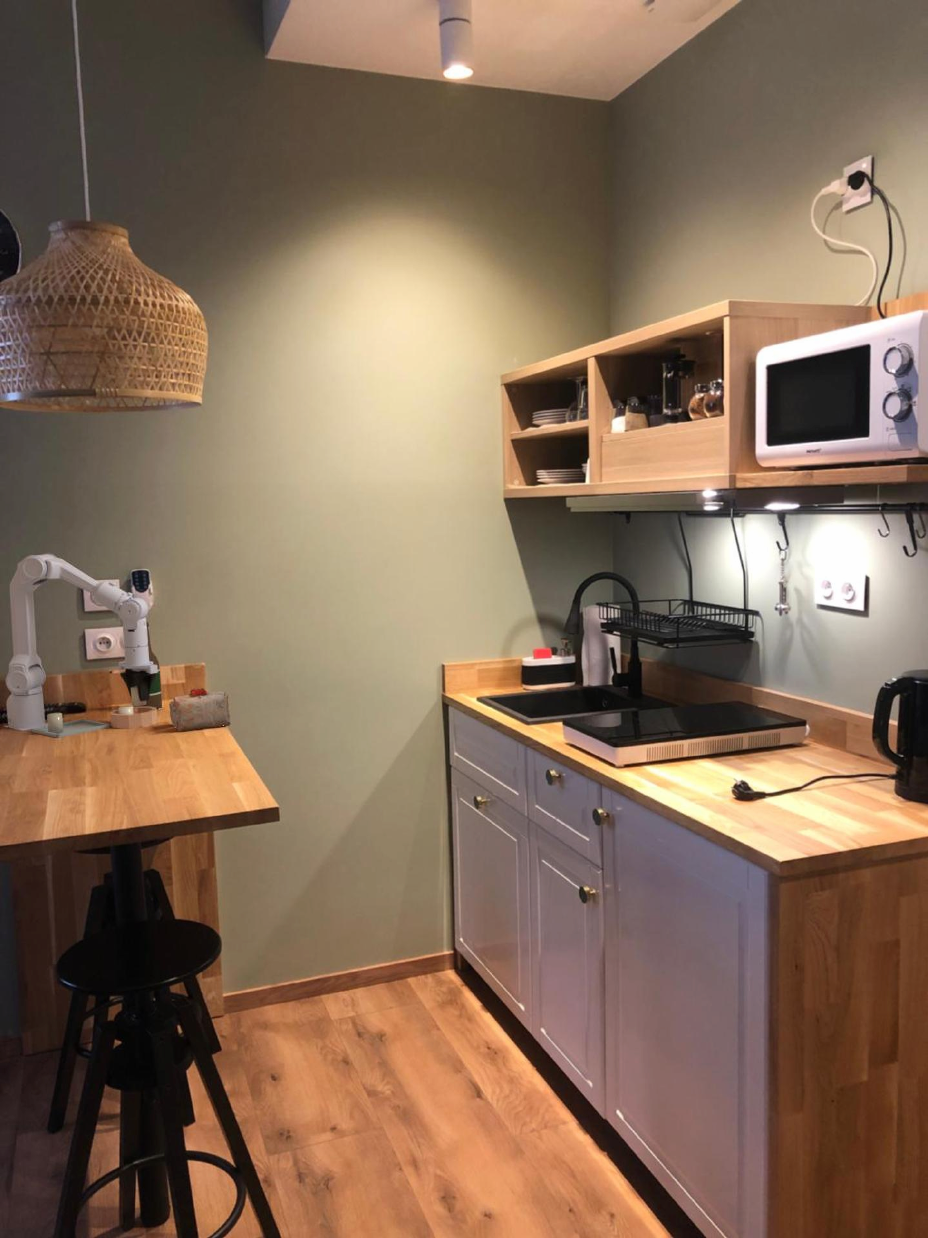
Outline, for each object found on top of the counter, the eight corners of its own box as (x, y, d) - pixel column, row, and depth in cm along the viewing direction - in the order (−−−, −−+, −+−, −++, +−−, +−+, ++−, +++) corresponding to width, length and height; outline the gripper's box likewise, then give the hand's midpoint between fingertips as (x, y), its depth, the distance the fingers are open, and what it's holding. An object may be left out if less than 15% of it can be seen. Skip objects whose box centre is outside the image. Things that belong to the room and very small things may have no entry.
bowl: (102, 727, 259) (101, 712, 259) (141, 719, 267) (140, 705, 267) (127, 732, 252) (125, 716, 251) (166, 724, 260) (165, 709, 260)
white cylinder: (45, 733, 252) (44, 714, 252) (59, 730, 255) (57, 712, 254) (52, 734, 250) (51, 716, 249) (66, 731, 252) (64, 713, 252)
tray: (31, 733, 254) (30, 729, 254) (84, 723, 265) (83, 718, 265) (57, 739, 246) (57, 734, 246) (111, 729, 256) (111, 724, 256)
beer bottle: (158, 712, 277) (152, 622, 274) (129, 713, 277) (122, 623, 274) (166, 706, 284) (160, 619, 282) (137, 707, 284) (131, 620, 282)
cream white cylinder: (117, 725, 258) (115, 707, 257) (129, 722, 260) (128, 705, 260) (124, 727, 255) (122, 708, 255) (136, 724, 258) (135, 706, 257)
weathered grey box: (175, 734, 248) (172, 693, 247) (169, 728, 255) (167, 688, 254) (232, 727, 254) (229, 687, 253) (225, 721, 261) (222, 683, 260)
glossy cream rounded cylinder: (129, 705, 260) (128, 687, 260) (142, 702, 263) (141, 685, 262) (135, 706, 258) (134, 689, 257) (148, 704, 260) (147, 686, 260)
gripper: (166, 645, 257) (170, 699, 259) (134, 642, 267) (138, 694, 268) (141, 649, 252) (145, 704, 253) (109, 646, 261) (113, 699, 263)
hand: (140, 700), depth 260 cm, fingers closed on glossy cream rounded cylinder, 3 cm apart
